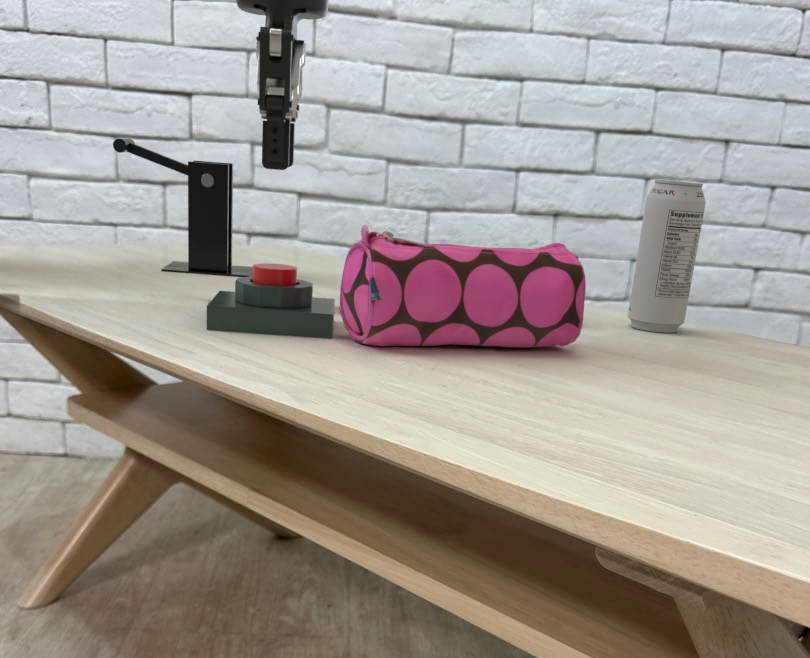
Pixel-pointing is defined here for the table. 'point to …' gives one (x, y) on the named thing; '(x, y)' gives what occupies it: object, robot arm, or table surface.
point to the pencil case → (460, 294)
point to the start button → (274, 274)
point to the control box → (272, 310)
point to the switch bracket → (210, 222)
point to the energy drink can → (666, 255)
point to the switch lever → (148, 155)
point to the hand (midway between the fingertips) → (278, 167)
